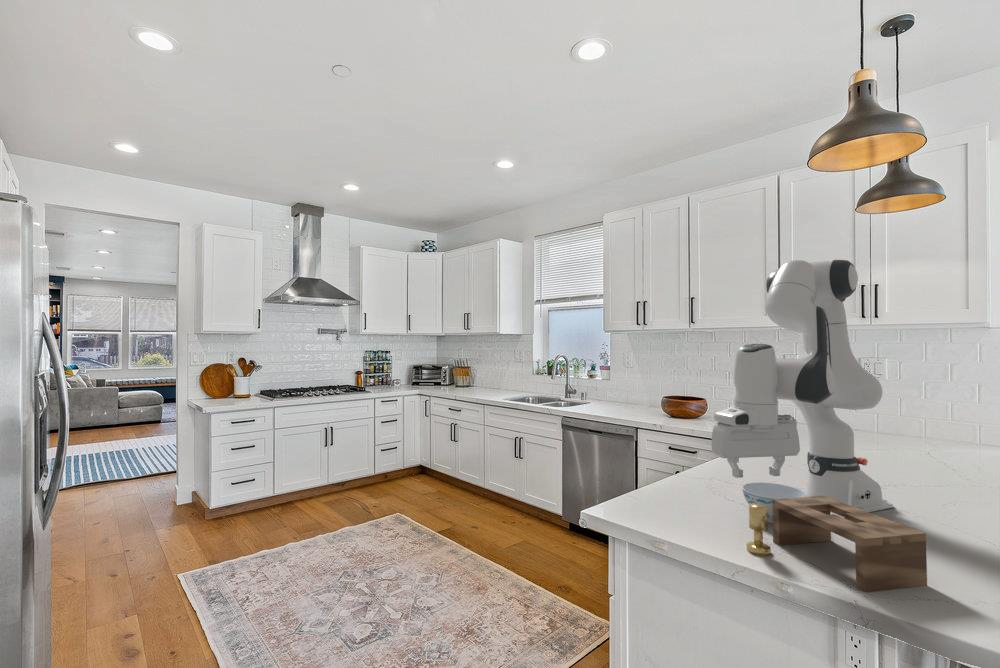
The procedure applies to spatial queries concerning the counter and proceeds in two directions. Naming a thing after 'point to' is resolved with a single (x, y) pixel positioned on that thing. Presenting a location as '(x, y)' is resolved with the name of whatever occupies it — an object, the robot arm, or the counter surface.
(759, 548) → the brass peg
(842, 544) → the counter surface
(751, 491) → the chinaware
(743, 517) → the counter surface
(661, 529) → the counter surface
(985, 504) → the counter surface
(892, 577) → the keyhole shelf
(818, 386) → the robot arm
